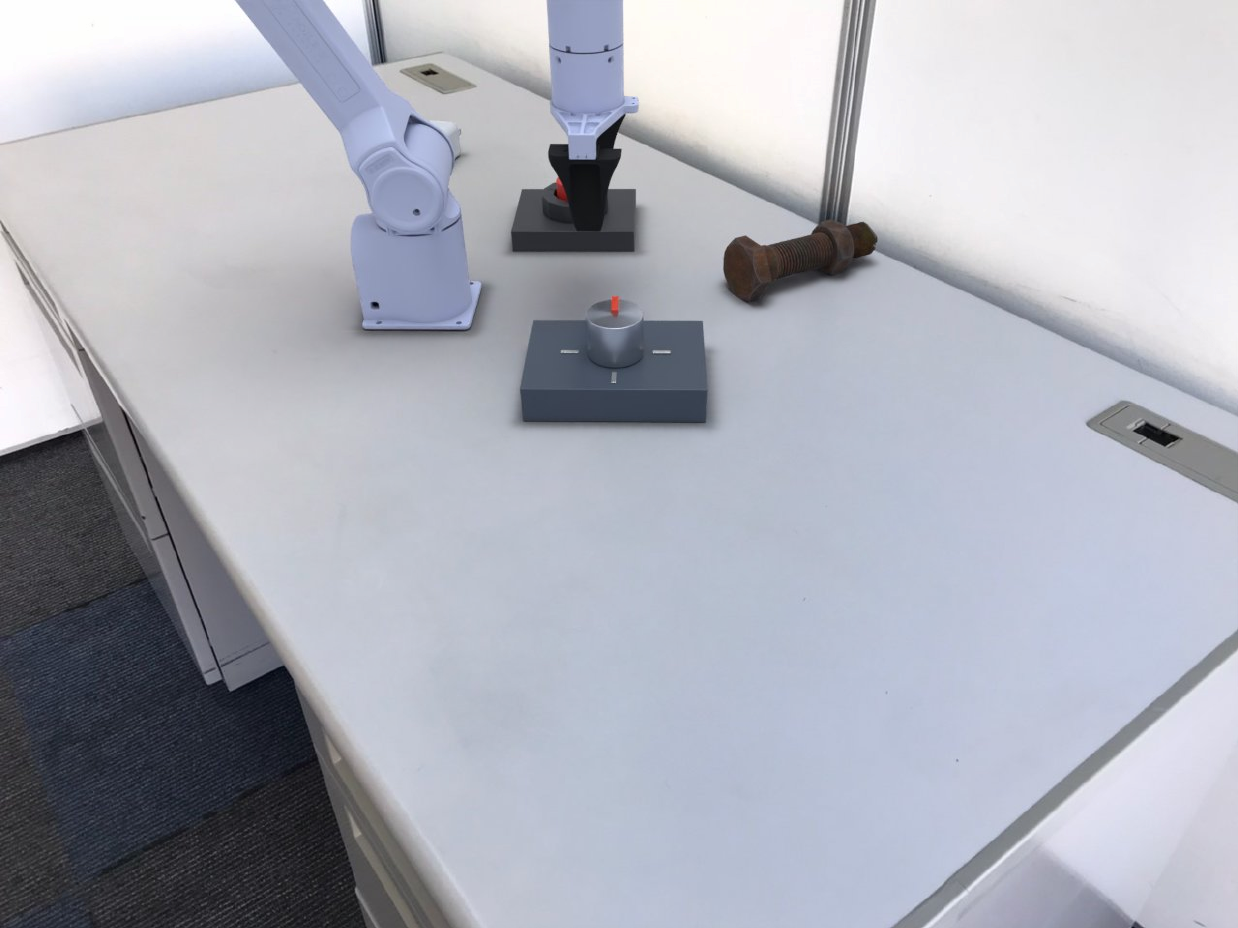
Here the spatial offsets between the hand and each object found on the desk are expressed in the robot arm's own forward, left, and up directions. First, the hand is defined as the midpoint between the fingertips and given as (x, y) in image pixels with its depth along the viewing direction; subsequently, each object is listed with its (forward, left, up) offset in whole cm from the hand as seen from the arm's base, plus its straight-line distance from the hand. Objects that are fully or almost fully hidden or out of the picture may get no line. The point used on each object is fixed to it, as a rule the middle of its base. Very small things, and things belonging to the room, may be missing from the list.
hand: (591, 209), depth 85 cm
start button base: (-3, +15, -9) cm, 17 cm away
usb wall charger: (-20, +34, -9) cm, 40 cm away
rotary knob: (+2, -13, -6) cm, 15 cm away
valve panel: (+2, -13, -9) cm, 16 cm away
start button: (-3, +15, -5) cm, 16 cm away
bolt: (+19, +5, -9) cm, 22 cm away
